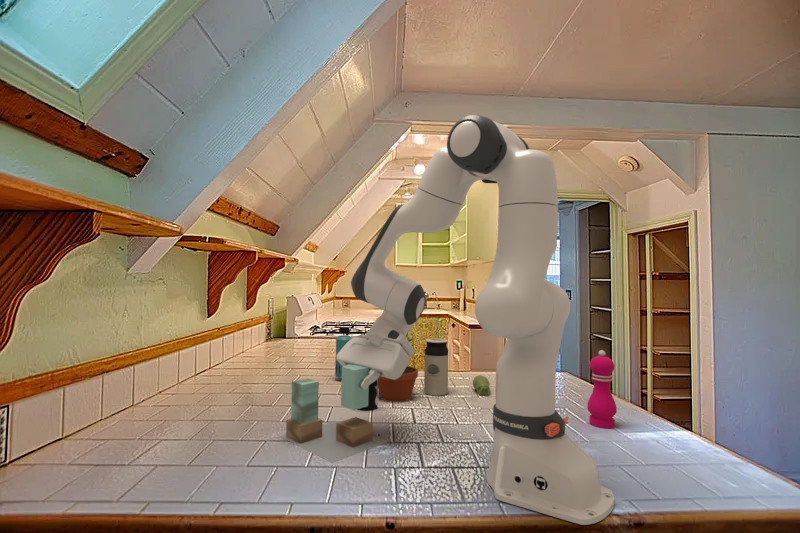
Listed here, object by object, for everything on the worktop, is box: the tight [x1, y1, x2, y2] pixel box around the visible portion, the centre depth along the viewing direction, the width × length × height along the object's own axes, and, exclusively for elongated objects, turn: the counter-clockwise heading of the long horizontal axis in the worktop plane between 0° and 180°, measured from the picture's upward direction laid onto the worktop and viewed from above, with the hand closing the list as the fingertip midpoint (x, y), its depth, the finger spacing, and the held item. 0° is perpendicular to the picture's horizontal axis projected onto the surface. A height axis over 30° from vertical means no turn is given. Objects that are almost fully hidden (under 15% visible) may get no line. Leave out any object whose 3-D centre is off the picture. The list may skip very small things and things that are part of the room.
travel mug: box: [423, 337, 449, 397], centre depth 145 cm, size 8×8×18 cm
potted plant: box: [378, 329, 419, 402], centre depth 140 cm, size 15×15×30 cm
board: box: [280, 420, 388, 464], centre depth 100 cm, size 20×16×1 cm
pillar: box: [340, 365, 369, 411], centre depth 100 cm, size 4×4×9 cm
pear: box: [472, 374, 491, 397], centre depth 147 cm, size 6×5×10 cm
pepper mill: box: [587, 349, 618, 429], centre depth 116 cm, size 7×7×20 cm
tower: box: [285, 378, 323, 444], centre depth 101 cm, size 6×6×13 cm
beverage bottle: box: [334, 326, 353, 379], centre depth 162 cm, size 6×7×20 cm
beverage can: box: [356, 379, 379, 412], centre depth 125 cm, size 7×7×12 cm
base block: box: [336, 416, 374, 447], centre depth 99 cm, size 6×6×4 cm
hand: (352, 385), depth 99 cm, fingers closed on pillar, 4 cm apart
